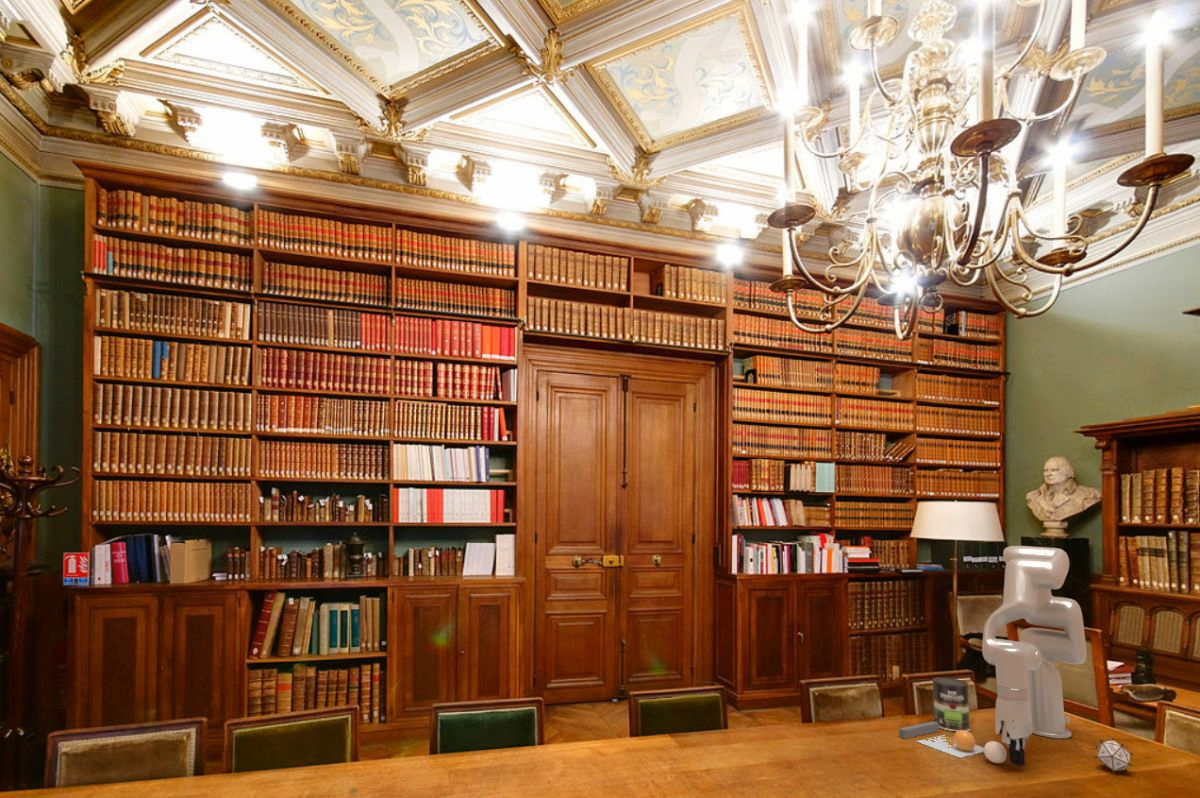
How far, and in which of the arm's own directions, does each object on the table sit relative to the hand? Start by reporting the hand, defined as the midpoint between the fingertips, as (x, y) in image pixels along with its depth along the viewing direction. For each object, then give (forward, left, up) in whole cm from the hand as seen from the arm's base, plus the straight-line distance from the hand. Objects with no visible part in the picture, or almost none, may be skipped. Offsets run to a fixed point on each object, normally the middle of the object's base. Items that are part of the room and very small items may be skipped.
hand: (1017, 763), depth 181 cm
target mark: (0, -19, -2) cm, 19 cm away
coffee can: (-16, -30, -2) cm, 34 cm away
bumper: (0, -30, -2) cm, 30 cm away
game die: (-24, +12, -2) cm, 27 cm away
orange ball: (0, -15, +1) cm, 15 cm away
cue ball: (+1, -6, +1) cm, 6 cm away
